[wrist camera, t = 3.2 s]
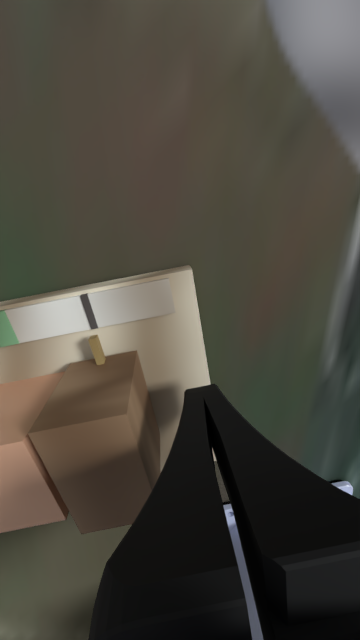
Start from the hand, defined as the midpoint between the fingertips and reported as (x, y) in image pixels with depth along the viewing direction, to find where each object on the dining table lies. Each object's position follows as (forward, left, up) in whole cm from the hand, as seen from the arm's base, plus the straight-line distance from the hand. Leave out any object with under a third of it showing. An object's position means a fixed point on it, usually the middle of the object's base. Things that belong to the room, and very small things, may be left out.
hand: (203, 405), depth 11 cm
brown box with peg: (+4, 0, -1) cm, 4 cm away
